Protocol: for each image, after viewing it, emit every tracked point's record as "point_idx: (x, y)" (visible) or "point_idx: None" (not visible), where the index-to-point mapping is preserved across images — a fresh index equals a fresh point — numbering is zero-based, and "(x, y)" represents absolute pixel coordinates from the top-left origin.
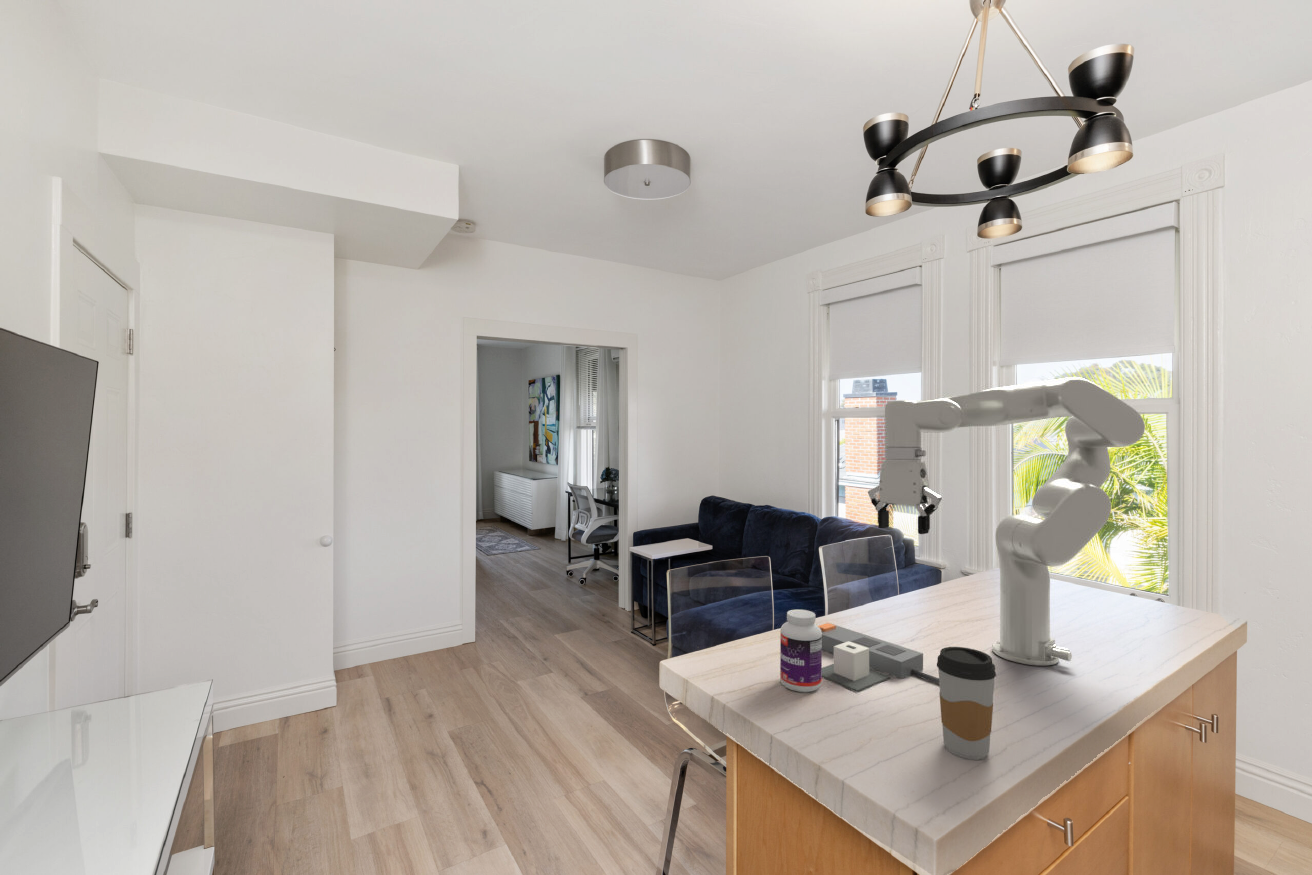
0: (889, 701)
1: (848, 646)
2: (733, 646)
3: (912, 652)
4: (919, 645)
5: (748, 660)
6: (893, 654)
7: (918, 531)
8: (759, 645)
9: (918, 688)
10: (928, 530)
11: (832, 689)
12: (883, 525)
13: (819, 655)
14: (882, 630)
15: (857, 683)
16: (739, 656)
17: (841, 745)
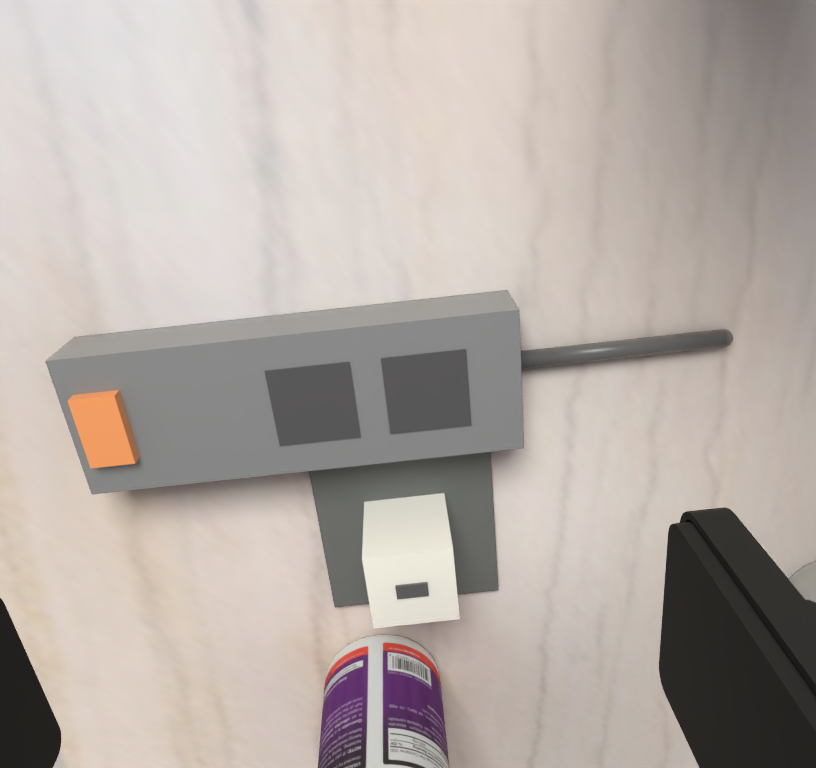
0: (583, 557)
1: (405, 596)
2: (40, 667)
3: (489, 338)
4: (321, 48)
5: (168, 687)
6: (465, 421)
7: (677, 701)
8: (60, 601)
9: (586, 430)
10: (740, 528)
11: (447, 624)
12: (31, 737)
13: (445, 742)
14: (70, 20)
15: (468, 561)
16: (129, 691)
17: (638, 757)
